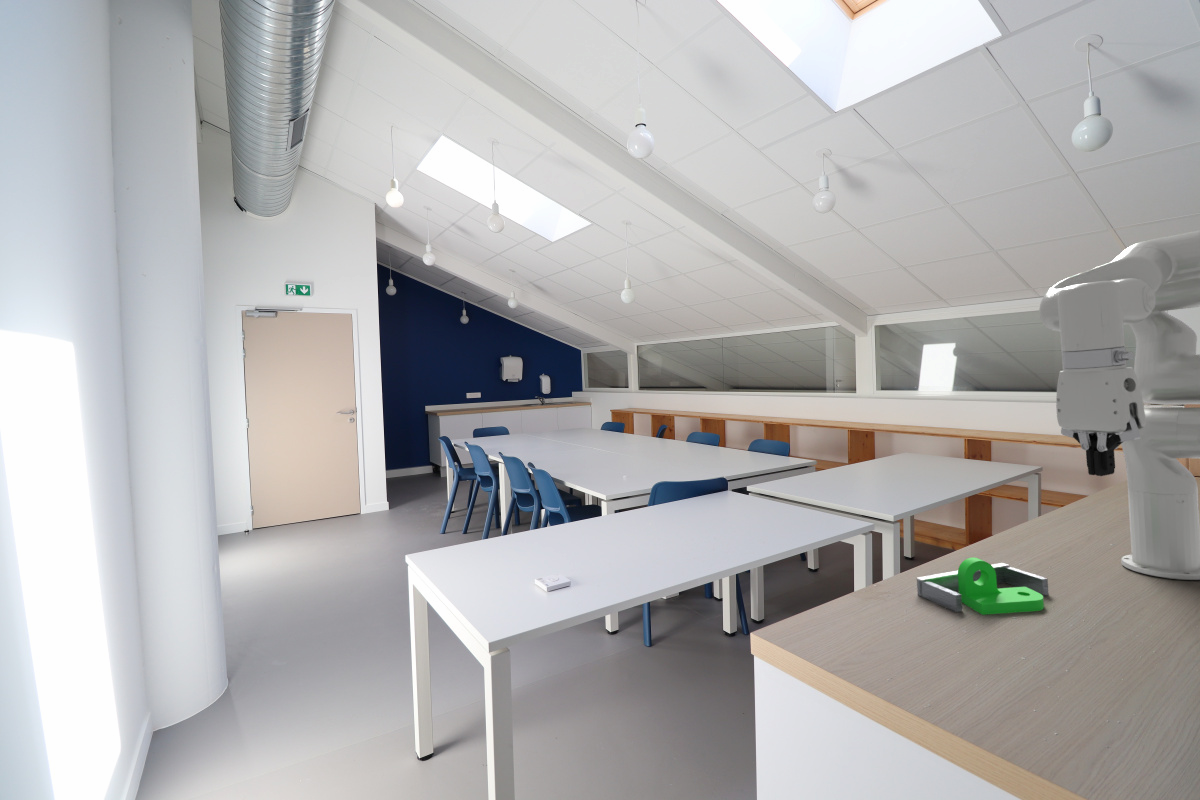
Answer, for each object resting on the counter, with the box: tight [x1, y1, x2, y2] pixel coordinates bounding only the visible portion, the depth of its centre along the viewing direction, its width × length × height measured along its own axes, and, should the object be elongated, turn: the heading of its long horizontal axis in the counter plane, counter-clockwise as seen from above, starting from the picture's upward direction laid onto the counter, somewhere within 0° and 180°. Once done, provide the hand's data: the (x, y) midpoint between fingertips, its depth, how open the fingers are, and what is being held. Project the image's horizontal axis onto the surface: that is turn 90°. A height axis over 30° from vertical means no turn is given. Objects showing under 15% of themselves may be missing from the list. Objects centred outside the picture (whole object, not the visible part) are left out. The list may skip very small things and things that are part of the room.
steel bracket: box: [916, 562, 1049, 613], centre depth 101 cm, size 20×9×3 cm, turn 103°
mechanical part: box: [957, 556, 1045, 616], centre depth 96 cm, size 12×6×8 cm, turn 89°
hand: (1101, 473), depth 88 cm, fingers closed
